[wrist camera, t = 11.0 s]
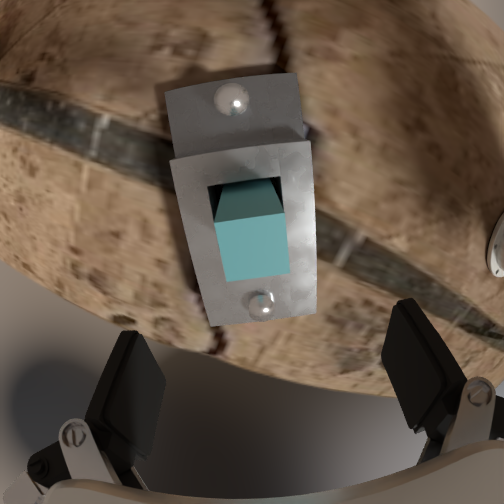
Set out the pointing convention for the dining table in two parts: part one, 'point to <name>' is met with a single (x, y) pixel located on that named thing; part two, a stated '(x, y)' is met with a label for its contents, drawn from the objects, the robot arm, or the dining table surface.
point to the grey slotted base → (240, 169)
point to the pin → (251, 230)
